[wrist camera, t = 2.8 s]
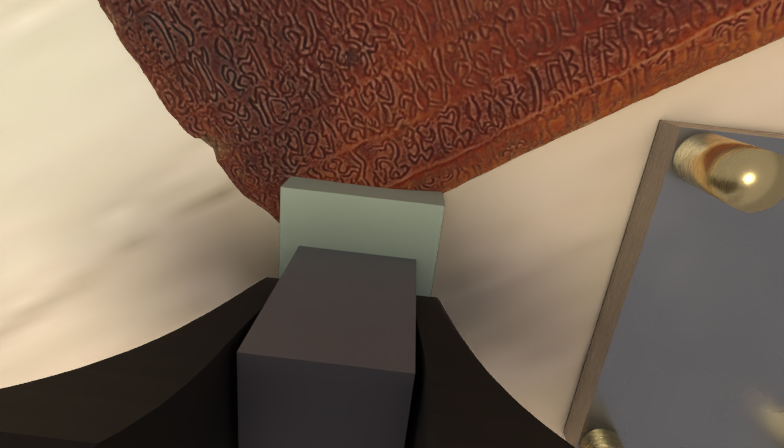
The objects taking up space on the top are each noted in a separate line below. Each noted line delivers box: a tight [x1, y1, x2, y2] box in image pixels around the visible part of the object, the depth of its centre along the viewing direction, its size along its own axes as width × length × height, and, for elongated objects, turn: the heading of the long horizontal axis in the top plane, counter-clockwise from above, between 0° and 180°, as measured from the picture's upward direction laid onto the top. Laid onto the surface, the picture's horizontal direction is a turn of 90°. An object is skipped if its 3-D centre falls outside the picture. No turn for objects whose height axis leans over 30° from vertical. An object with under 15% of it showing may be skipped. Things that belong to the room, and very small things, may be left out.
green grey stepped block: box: [237, 176, 445, 448], centre depth 11 cm, size 6×4×6 cm, turn 174°
